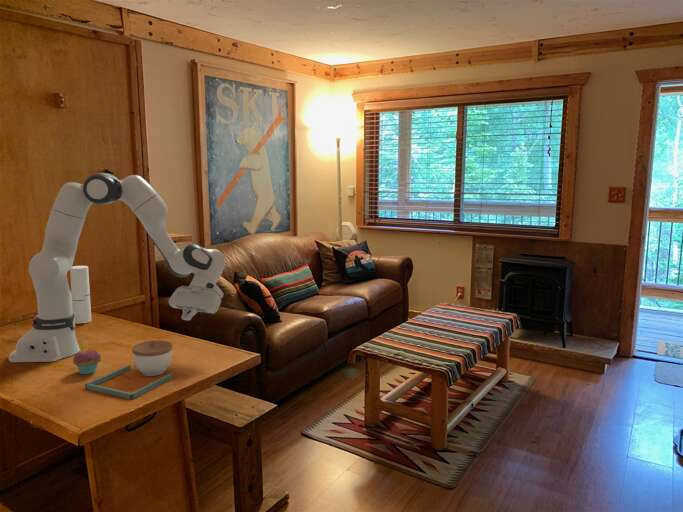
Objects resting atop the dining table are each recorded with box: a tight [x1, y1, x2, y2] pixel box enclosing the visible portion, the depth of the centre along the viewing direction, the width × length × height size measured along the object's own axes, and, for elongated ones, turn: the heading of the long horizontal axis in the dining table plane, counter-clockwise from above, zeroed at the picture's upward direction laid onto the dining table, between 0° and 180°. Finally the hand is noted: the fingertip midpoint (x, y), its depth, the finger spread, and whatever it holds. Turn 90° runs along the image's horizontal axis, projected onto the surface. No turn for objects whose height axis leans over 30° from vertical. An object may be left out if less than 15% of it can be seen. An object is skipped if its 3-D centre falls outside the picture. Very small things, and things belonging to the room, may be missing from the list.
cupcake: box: [72, 339, 102, 375], centre depth 172 cm, size 9×8×12 cm
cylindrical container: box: [69, 265, 92, 323], centre depth 226 cm, size 7×7×25 cm
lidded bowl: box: [131, 339, 173, 377], centre depth 173 cm, size 13×13×11 cm
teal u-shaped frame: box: [84, 364, 174, 400], centre depth 164 cm, size 18×19×2 cm
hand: (185, 319), depth 187 cm, fingers closed
